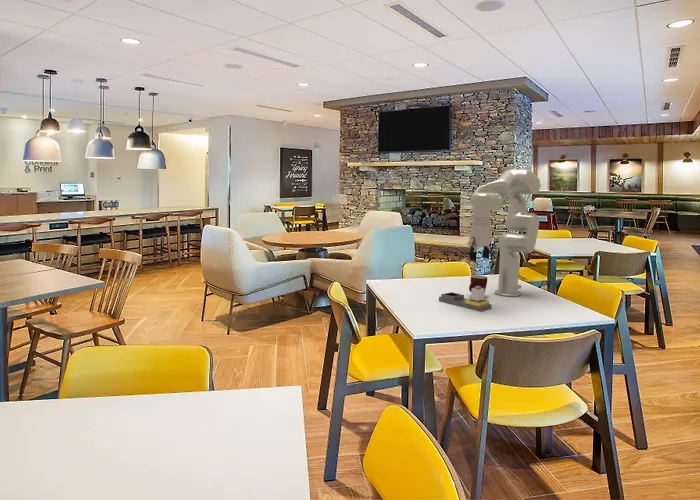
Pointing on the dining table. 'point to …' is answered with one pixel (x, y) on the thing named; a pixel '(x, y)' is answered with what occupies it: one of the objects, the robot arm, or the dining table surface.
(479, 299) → the knobbed metal block
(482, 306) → the grey flat elongated piece
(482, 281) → the mug
